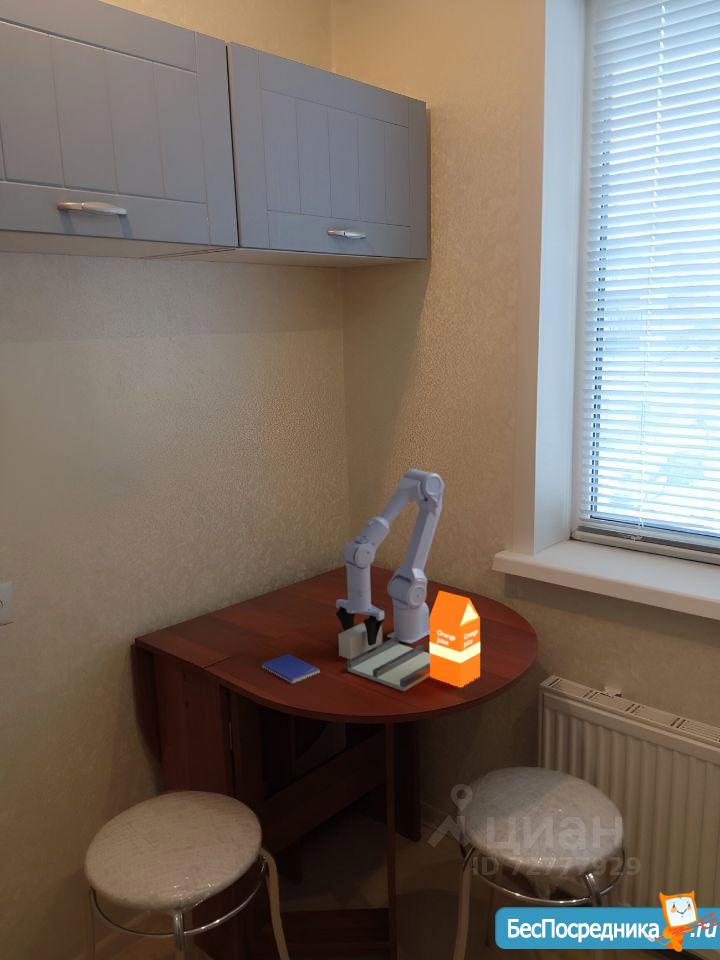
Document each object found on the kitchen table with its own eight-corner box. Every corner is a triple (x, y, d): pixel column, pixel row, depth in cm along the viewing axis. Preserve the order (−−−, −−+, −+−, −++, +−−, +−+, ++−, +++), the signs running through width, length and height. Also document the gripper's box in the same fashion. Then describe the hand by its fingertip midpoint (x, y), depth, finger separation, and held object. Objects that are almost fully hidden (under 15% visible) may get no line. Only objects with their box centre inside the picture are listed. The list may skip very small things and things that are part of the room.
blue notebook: (319, 668, 179) (289, 653, 189) (291, 679, 174) (261, 663, 183) (320, 674, 180) (289, 659, 189) (292, 685, 174) (262, 669, 184)
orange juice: (450, 665, 181) (449, 586, 177) (480, 676, 175) (480, 594, 171) (429, 677, 175) (428, 595, 171) (460, 688, 169) (459, 603, 165)
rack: (395, 646, 193) (395, 637, 192) (450, 664, 182) (450, 654, 181) (347, 670, 180) (347, 661, 179) (404, 691, 169) (404, 681, 168)
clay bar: (370, 641, 197) (370, 619, 196) (382, 645, 194) (381, 622, 193) (339, 656, 188) (338, 634, 187) (351, 660, 186) (350, 637, 185)
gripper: (326, 587, 190) (328, 638, 193) (370, 599, 181) (372, 652, 183) (346, 580, 195) (347, 630, 198) (389, 591, 186) (390, 643, 188)
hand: (360, 640), depth 191 cm, fingers open, 7 cm apart
